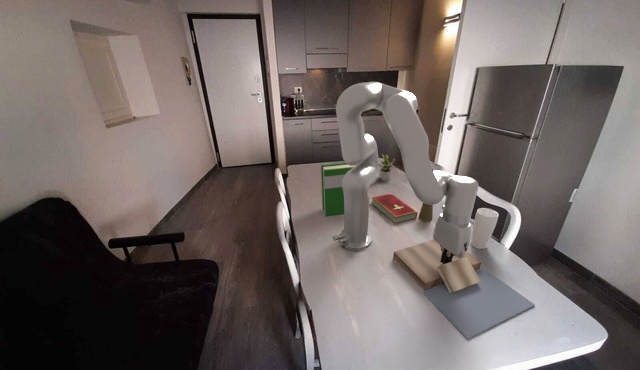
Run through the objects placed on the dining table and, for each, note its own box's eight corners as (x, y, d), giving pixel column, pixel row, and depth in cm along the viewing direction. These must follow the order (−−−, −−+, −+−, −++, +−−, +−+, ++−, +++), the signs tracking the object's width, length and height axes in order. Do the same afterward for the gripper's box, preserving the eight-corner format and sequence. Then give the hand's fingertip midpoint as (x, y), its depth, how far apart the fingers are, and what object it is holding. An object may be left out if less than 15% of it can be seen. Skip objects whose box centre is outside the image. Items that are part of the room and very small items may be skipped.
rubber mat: (467, 339, 63) (467, 338, 63) (422, 292, 77) (423, 291, 77) (534, 305, 71) (534, 304, 71) (483, 268, 85) (483, 267, 85)
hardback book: (325, 216, 119) (324, 170, 109) (322, 209, 126) (320, 164, 116) (360, 212, 122) (362, 166, 112) (355, 205, 128) (357, 161, 118)
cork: (423, 222, 112) (427, 200, 107) (415, 215, 117) (418, 194, 113) (435, 219, 113) (439, 198, 109) (426, 213, 119) (430, 192, 114)
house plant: (368, 176, 163) (369, 152, 156) (387, 173, 166) (389, 149, 159) (379, 184, 150) (381, 159, 143) (399, 181, 154) (402, 156, 147)
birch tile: (449, 292, 76) (453, 291, 74) (436, 267, 80) (440, 265, 78) (476, 282, 79) (481, 281, 77) (462, 258, 83) (466, 256, 81)
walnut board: (424, 290, 78) (425, 283, 76) (393, 258, 91) (393, 251, 90) (479, 268, 85) (481, 261, 84) (443, 242, 99) (444, 235, 97)
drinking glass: (481, 239, 99) (490, 207, 93) (492, 250, 93) (503, 216, 87) (464, 240, 99) (473, 208, 93) (475, 251, 93) (484, 217, 87)
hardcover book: (390, 199, 134) (391, 192, 132) (416, 218, 115) (417, 211, 114) (371, 203, 130) (371, 196, 128) (394, 224, 112) (395, 216, 110)
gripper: (428, 207, 81) (421, 252, 88) (468, 232, 68) (455, 281, 76) (446, 202, 83) (437, 246, 91) (487, 225, 70) (473, 274, 78)
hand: (445, 262), depth 83 cm, fingers closed
